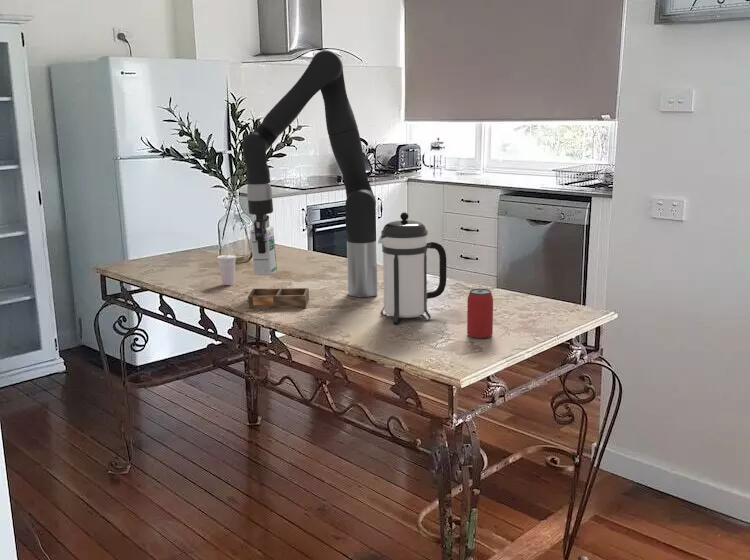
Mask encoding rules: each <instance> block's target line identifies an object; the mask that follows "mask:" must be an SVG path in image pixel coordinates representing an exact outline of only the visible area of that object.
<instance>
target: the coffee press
mask: <svg viewBox="0 0 750 560" xmlns="http://www.w3.org/2000/svg"><path fill="white" fill-rule="evenodd" d="M399 218H400V220H394V221H389V222H388V223H386V224H385V225H384V226H383V229H382V230H381V231H380V233H381V235H380V236H379V239H378V241H377V244H379V245H380V244H382V245H381V247H382V249H381V251H382V261H383V263H382V264H383V265H382V269H383V270H382V271H383V272H382V275H383V277H382V278H383V308H382V309H381V310H380V312H379V314H380V315H381V316H383V317H384V316H386V315H388V316H390V317H393V319H392V324H393V325H400V321H401V319H402V318H403V319H404V318H405V319H407V318H409V319H410V318H417V317H422V319H423V320H425V321H426V322H428V321H429V320H430V319H431V314H430V313H429V311H428V307H427V306H428V304H427V303H428V300H429V299H433V298H438V297H439V296H441V295H442V294H443V292H444V291H445V289H446V285H447V254H446V249H445V248H444V246H443V245H442V244H440V243H438V242H434V241H429V242H427V237H428V235H429V231H428V230H427V228H426V226H425V224H423V223H422V222H420V221H418V220H417V221H416V220H408V219H409V214H408V213H407V212H406V211H405V212H404V211H403V212H401V214H400V217H399ZM428 249H431V250H432V249H434V250H436V251H437V252H438V256H439V257H438V258H439V282H438V286H437V288H436V289H435V290H434V291H427V288H428V287H427V285H428V284H427V283H428V281H427V279H428V278H427V275H428V273H427V270H428V269H427V267H428V265H427V261H428V260H427V259H428V258H427V251H428ZM384 312H385V313H384ZM424 314H426V315H424ZM426 316H427V317H428V318H427V317H426Z"/></svg>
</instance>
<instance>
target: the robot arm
mask: <svg viewBox="0 0 750 560" xmlns="http://www.w3.org/2000/svg"><path fill="white" fill-rule="evenodd" d="M344 75H345V74H344V67H343V61H342V59H341V58H340V57H339V55H338V54H336V53H335V52H334V51H331V50H326V49H325V50H321V51H318V52H317V53H316V54H314V55H313V57H312V59H311V61H310V62H309V64H308V66H307V68H306V69H305V70H304V72H303V74H302V75H301V77H299V79H298V80H297V81H296V83H295V84H294V85H293V86H292V87H291V88H290V89H289V90H288V92H286V94H284V95H283V97H282V98H281V99H280V100H279V101H278V102H277V103H276V104H274V106H273V107H272V109H270V110H269V112H267V114H266V115H265V116H264V117H263V120H262V122H260V124H259V125H258V126H257V127H256V128H255V129H254V130H253V131H252V132H251V133H248V134H246V136H245V137H244V138H243V141H242V152H243V157H244V162H245V167H246V182H247V183H246V184H247V188H246V190H247V191H246V193H247V203H248V204H247V205H248V206H247V207H248V213H249V214H250V215H255V220H254V221H253V226H254V227H253V229H255V240H256V241H257V242H258V253H259V254H263V253H265V252H266V248H265V234H266V229H267V227H270V215H269V214H272V213H273V212H274V206H273V205H274V204H273V203H274V202H273V190H272V186H271V173H270V168H269V165H268V162H267V151H268V150H269V149H270V148H271V147H272V145H273V144H274V143H275V142H276V140H277V139H278V137H279V136H280V135H281V134H283V132H285V130H287V128H288V127H289V126H290V125H291V124H292V123H293V122H294V120H296V119H297V117H298V116H299V115H300V114H301V112H302V111H303V109H304V108H305V107H306V106H307V104H308V103H309V102H310V101H311V99H312V98H313V97H314V96H315V95H316V94H317V93H319V92H321V95H322V99H323V105H324V114H325V116H324V117H325V124H326V125H325V126H326V131H327V135H328V139H329V143H330V146H331V150H332V153H333V156H334V158H335V161H336V163H337V166H338V168H339V170H340V173H341V174H342V179H343V183H344V189H345V196H346V200H345V204H344V206H345V207H344V213H345V215H344V216H345V232H346V233H345V234H346V258H347V259H346V260H347V261H346V263H347V265H346V266H347V293H348V294H347V295H349V296H350V297H353V298H354V297H356V298H369V297H377V296H378V262H377V260H378V259H377V255H378V254H377V226H376V223H377V221H376V217H377V215H376V214H377V213H376V206H377V200H376V197H375V194H374V192H373V189H372V187H371V184H370V181H369V178H368V175H367V172H366V165H365V157H364V151H363V146H362V141H361V134H360V131H359V128H358V127H359V126H358V125H357V120H356V117H355V114H354V112H353V111H354V110H353V108H352V106H351V104H350V101H349V98H348V94H347V90H346V84H345V83H346V82H345V77H344ZM263 229H265V230H264V231H263ZM259 234H261V235H262V237H259Z"/></svg>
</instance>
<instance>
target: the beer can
mask: <svg viewBox="0 0 750 560" xmlns="http://www.w3.org/2000/svg"><path fill="white" fill-rule="evenodd" d="M466 301H467V308H466V309H467V312H466V313H467V316H466V317H467V319H466V321H467V322H466V323H467V324H466V327H467V328H466V329H467V330H466V333H467V336H468V337H471V338H473V339H478V340H479V339H481V340H482V339H483V340H484V339H488V338H491V336H493V333H494V331H493V327H494V325H493V324H494V323H493V322H494V297H493V294H492V290H491V289H489V288H488V289H487V288H481V287H479V288H478V287H477V288H472V289H470V290H469V293H468V296H467V300H466Z"/></svg>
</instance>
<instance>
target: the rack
mask: <svg viewBox="0 0 750 560" xmlns="http://www.w3.org/2000/svg"><path fill="white" fill-rule="evenodd" d="M309 291H310V290H309V287H301V288H300V287H291V288H290V287H285V288H284V287H282V288H281V287H280V288H276V287H274V288H269V287H268V288H253V289H252V290H251V292H250V293H249V295H248V296H247V302H248V304H247V305H248V310H249V309H250V310H251V309H252V310H253V309H254V310H255V309H258V310H260V309H261V310H263V309H264V310H265V309H266V310H267V309H268V310H270V309H306V308H307V307H306V306H308V304H309V302H310V292H309Z"/></svg>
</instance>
